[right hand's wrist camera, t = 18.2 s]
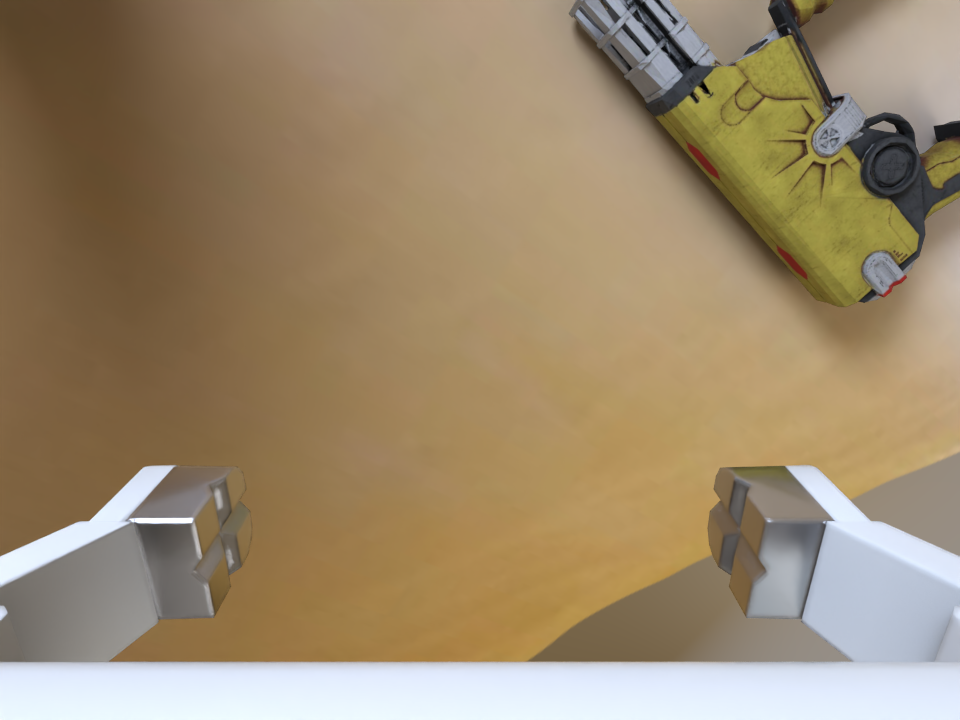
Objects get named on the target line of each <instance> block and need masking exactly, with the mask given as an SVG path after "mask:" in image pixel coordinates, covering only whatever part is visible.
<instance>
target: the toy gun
mask: <svg viewBox="0 0 960 720" xmlns="http://www.w3.org/2000/svg"><path fill="white" fill-rule="evenodd" d="M603 1H604V3H605V4H606V5H607V6H608V7H609V9H608V10H607V11H606V10H605V8H604V7H603V5H602V4H601V2H600V1H599V0H576V2H575V4H574V6H573V7H572V9H571V11H570V12H569V14H570V16H571V17H573V16H574V17H575V19H576V20H577V21H578V22H579V23H580V24H581V26H582V27H583V28H584V29H585V30H586V31H587V32H588V34H589V35H590V36H591V37H592V38H593V39H594V41H595V42H596V43H597V45H596V46H597V47H598V48H599V49H600V48H602V50H603V51H604V52H605V53H606V54H607V55H608V56H609V58H610V59H611V60H612V61H613V62H614V63H615V64H616V65H617V67H618V68H619V69H620V70H621V71H622V72H623V73H624V74H625V75H624V77H625V78H626V80H628V79H629V80H630V82H631V83H632V84H633V85H634V86H635V88H636V89H637V90H638V91H639V92H640V94H641V95H642V96H643V97H644V100H645V101H646V102H647V104H646V108H647V109H648V110H649V111H650V112H651V113H652V114H653V115H654V116H655V117H656V118H657V120H658V121H659V122H660V123H661V124H662V125H663V126H664V128H665V129H666V130H667V131H668V132H669V133H670V134H671V136H672V137H673V138H674V139H675V140H676V141H677V142H678V143H679V145H680V146H681V147H682V148H683V149H684V150H685V151H686V153H687V154H688V155H689V156H690V157H691V158H692V159H693V160H694V162H695V163H696V164H697V165H698V166H699V167H700V168H701V170H702V171H703V172H704V173H705V174H706V175H707V176H708V178H709V179H710V180H711V181H712V182H713V183H714V184H715V185H716V187H717V188H718V189H719V190H720V191H721V192H722V193H723V195H724V196H725V197H726V198H727V199H728V200H729V201H730V202H731V204H732V205H733V206H734V207H735V208H736V209H737V210H738V212H739V213H740V214H741V215H742V216H743V217H744V218H745V220H746V221H747V222H748V223H749V224H750V225H751V226H752V227H753V229H754V230H755V231H756V232H757V233H758V234H759V235H760V237H761V238H762V239H763V240H764V241H765V242H766V243H767V245H768V246H769V247H770V248H771V249H772V250H773V251H774V252H775V254H776V255H777V256H778V257H779V258H780V259H781V260H782V262H783V263H784V264H785V265H786V266H787V267H788V268H789V269H790V271H791V272H792V273H793V274H794V275H795V276H796V277H797V279H798V280H799V281H800V282H801V283H802V284H803V285H804V287H805V288H806V289H807V290H808V291H809V292H810V293H811V294H812V296H813V297H814V298H815V299H816V300H818V301H822V302H827V303H830V304H832V305H835V306H838V307H847V306H849V305H852V304H855V303H857V302H863V303H865V302H868V301H873V300H877V299H878V298H880V297H885V296H887V295H888V294H889V293H890V292H891V291H892V288H893V286H895V285H898V284H900V283H902V282H903V281H904V280H905V279H906V278H907V277H906V275H905V274H906V273H907V272H908V271H909V270H910V269H912V266H913V264H914V262H915V260H916V258H918V257H919V255H920V251H921V248H922V244H923V241H924V237H925V225H924V221H925V219H926V218H927V217H929V216H930V215H931V214H933V213H934V212H936V211H937V210H939V209H941V208H942V207H944V206H946V205H947V204H949V203H951V202H952V201H954V200H956V199H957V198H959V197H960V121H954V122H949V123H947V124H944V125H938V126H934V130H935V135H936V139H937V141H938V142H939V143H936V144H935V145H934V146H932V147H931V148H930V149H929V150H927V151H926V152H925V153H923V154H920V155H919V153H918V150H917V148H916V143H915V134H914V131H913V128H912V127H911V125H910V124H909V122H907V121H906V120H905V119H904V118H903V117H901V116H900V115H897V114H891V113H885V112H884V113H882V114H879V115H876V116H873V117H871V118H868V119H867V120H866V117H867V116H866V115H865V114H864V113H863V112H862V110H861V109H860V108H859V106H858V105H857V104H856V103H855V101H854V100H853V99H852V97H851V96H850V94H849V93H845V94H841V95H837V96H833V97H832V96H831V94H830V92H829V89H828V87H827V85H826V83H825V81H824V79H823V77H822V75H821V73H820V71H819V69H818V66H817V64H816V62H815V60H814V58H813V56H812V54H811V52H810V50H809V48H808V46H807V44H806V42H805V40H804V38H803V36H802V34H801V32H800V30H799V28H800V27H801V26H803V25H804V24H805V23H807V22H808V21H810V19H811V17H812V15H813V14H817V13H822V12H823V11H824V10H826V9H827V8H828V7H829V6H831V5H832V3H833V1H834V0H771V1H770V6H769V8H768V11H769V13H770V15H771V17H772V19H773V21H774V23H775V25H776V27H777V29H778V30H777V29H775V30H773V31H771V32H770V33H769V34H768V35H767V36H765V37H764V38H763V39H762V40H760V41H759V42H758V43H757V44H755V45H753V46H751V47H750V48H749V49H748V50H747V51H746V53H745V54H744V55H743V56H742V57H741V58H740V59H738V60H736V61H734V62H732V63H730V64H728V65H726V66H722V64H721V63H720V62H719V61H718V59H717V58H716V57H715V56H714V55H713V53H712V52H711V51H710V50H709V46H708V44H707V43H705V44H704V43H703V41H702V40H701V39H700V38H699V37H698V35H697V34H696V33H695V32H694V30H693V29H692V28H691V27H690V26H689V24H688V23H687V21H688V20H687V18H686V17H682V16H681V14H680V13H679V12H678V11H677V10H676V8H675V7H674V6H673V5H672V3H671V2H670V1H669V0H603ZM579 10H580V11H581V12H580V11H579ZM881 121H886V122H889V123H891V124H894V125H895V127H896V129H897V131H896V133H891V132H884V131H879V130H874V129H869V127H870V126H872V125H874V124H877V123H879V122H881Z"/></svg>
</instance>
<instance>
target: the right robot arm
mask: <svg viewBox="0 0 960 720" xmlns="http://www.w3.org/2000/svg"><path fill="white" fill-rule="evenodd" d="M245 490H246V485H245V480H244V475H243V472H242V471H241V470H240V469H239V468H238V467H226V466H177V465H157V466H147V467H143V468H142V469H141V470H140V471H139V472H138V473H137V474H136V475H135V476H134V477H133V478H132V479H131V480H130V481H129V482H128V483H127V484H126V485H125V486H124V487H123V488H122V489H121V490H120V491H119V492H118V493H117V494H116V495H115V496H114V497H113V498H112V499H111V500H110V501H109V502H108V503H107V504H106V505H105V506H104V507H103V508H102V509H101V510H100V511H99V512H98V513H97V514H96V515H95V516H94V517H93V518H92V519H91V520H90V521H79V522H77V523H75V524H72V525H70V526H68V527H66V528H63V529H61V530H59V531H57V532H54V533H52V534H50V535H48V536H45V537H43V538H41V539H39V540H36V541H34V542H32V543H30V544H27V545H25V546H23V547H21V548H18V549H16V550H14V551H12V552H9V553H7V554H5V555H3V556H0V720H960V557H959V556H957V555H955V554H953V553H951V552H948V551H946V550H944V549H942V548H939V547H937V546H935V545H933V544H930V543H928V542H926V541H924V540H921V539H919V538H917V537H915V536H912V535H910V534H908V533H906V532H903V531H901V530H899V529H897V528H894V527H892V526H890V525H888V524H885V523H883V522H881V521H870V520H869V519H868V518H867V517H866V516H865V515H864V514H863V513H862V512H861V511H860V510H859V509H858V508H857V507H856V506H855V505H854V504H853V503H852V502H851V501H850V500H849V499H848V498H847V497H846V496H845V495H844V494H843V493H842V492H841V491H840V490H839V489H838V488H837V487H836V486H835V485H834V484H833V483H832V482H831V481H830V480H829V479H828V478H827V477H826V476H825V475H824V474H823V473H822V472H821V471H820V470H819V469H818V468H816V467H813V466H811V465H795V466H764V467H726V468H720V469H719V471H718V473H717V475H716V479H715V484H714V490H715V492H716V494H717V495H718V497H719V498H720V501H719V502H718V503H717V505H716V506H715V507H714V508H713V509H712V510H711V511H710V514H709V522H708V538H709V546H710V549H711V552H712V555H713V558H714V560H715V561H716V563H717V565H718V567H719V568H721V569H722V570H724V571H725V572H727V573H728V574H730V575H731V579H730V584H729V587H730V589H731V591H732V593H733V595H734V596H735V598H736V600H737V602H738V603H739V605H740V607H741V609H742V611H743V613H744V614H745V616H746V618H774V619H802V620H801V622H802V623H803V624H805V625H806V626H807V627H809V628H810V629H811V630H812V631H814V632H815V633H816V634H817V635H819V636H820V637H821V638H823V639H824V640H825V641H826V642H828V643H829V644H830V645H831V646H833V647H834V648H835V649H836V650H838V651H839V652H840V653H842V654H843V655H844V656H845V657H847V658H848V659H849V660H850V661H852V662H108V661H110V660H111V659H112V658H114V657H115V656H116V655H117V654H119V653H120V652H121V651H122V650H124V649H125V648H126V647H128V646H129V645H130V644H131V643H133V642H134V641H135V640H136V639H138V638H139V637H140V636H142V635H143V634H144V633H145V632H147V631H148V630H149V629H150V628H152V627H153V626H154V625H156V624H157V623H158V622H159V621H158V619H186V618H214V616H215V615H216V613H217V611H218V609H219V607H220V605H221V604H222V602H223V600H224V598H225V596H226V595H227V593H228V591H229V589H230V587H231V584H230V579H229V575H230V574H232V573H233V572H235V571H236V570H238V569H239V568H241V567H242V565H243V563H244V561H245V559H246V557H247V555H248V552H249V548H250V544H251V539H252V520H251V514H250V511H249V510H248V509H247V508H246V507H245V506H244V505H243V503H242V502H241V501H240V498H241V497H242V495H243V494H244V492H245Z"/></svg>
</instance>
